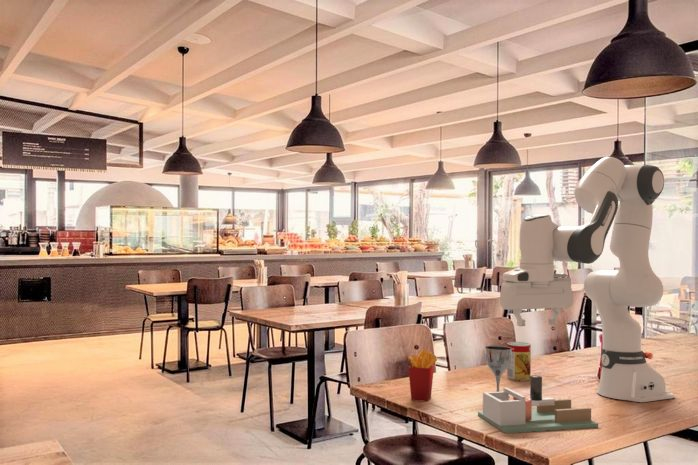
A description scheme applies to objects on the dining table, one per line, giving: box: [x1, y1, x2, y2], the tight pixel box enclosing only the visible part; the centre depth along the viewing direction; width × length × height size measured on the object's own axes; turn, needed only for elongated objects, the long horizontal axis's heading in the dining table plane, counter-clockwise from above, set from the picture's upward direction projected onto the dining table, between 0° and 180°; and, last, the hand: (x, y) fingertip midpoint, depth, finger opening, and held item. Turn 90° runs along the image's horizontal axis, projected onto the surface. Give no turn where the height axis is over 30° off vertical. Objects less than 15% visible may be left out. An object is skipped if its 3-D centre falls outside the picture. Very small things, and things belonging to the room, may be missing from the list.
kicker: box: [512, 375, 556, 421], centre depth 162 cm, size 10×6×10 cm, turn 103°
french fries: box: [407, 348, 438, 402], centre depth 185 cm, size 9×8×15 cm
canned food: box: [506, 341, 532, 382], centre depth 214 cm, size 8×8×12 cm
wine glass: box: [484, 344, 512, 399], centre depth 188 cm, size 8×8×15 cm
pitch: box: [477, 387, 599, 434], centre depth 162 cm, size 26×16×8 cm, turn 103°
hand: (537, 325), depth 165 cm, fingers open, 8 cm apart
